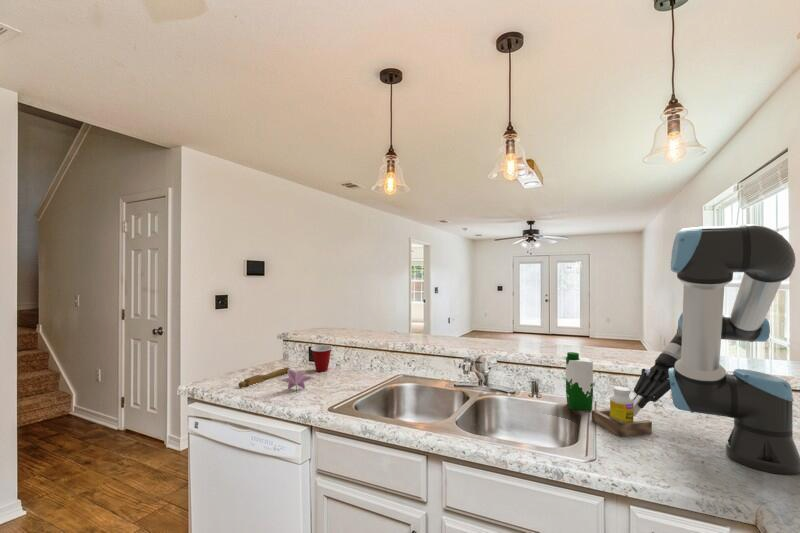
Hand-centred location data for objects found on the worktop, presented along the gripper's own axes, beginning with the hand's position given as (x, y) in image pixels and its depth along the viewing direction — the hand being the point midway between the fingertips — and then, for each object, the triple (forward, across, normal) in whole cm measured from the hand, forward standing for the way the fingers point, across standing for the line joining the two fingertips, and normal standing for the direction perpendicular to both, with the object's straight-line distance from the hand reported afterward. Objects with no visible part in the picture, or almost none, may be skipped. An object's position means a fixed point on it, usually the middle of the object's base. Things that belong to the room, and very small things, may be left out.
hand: (630, 413), depth 131 cm
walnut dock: (+6, 0, 0) cm, 6 cm away
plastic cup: (+73, +94, +66) cm, 136 cm away
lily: (+80, +62, +74) cm, 126 cm away
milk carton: (+7, +19, +1) cm, 20 cm away
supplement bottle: (+6, -1, 0) cm, 6 cm away
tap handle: (+91, +83, +84) cm, 149 cm away
